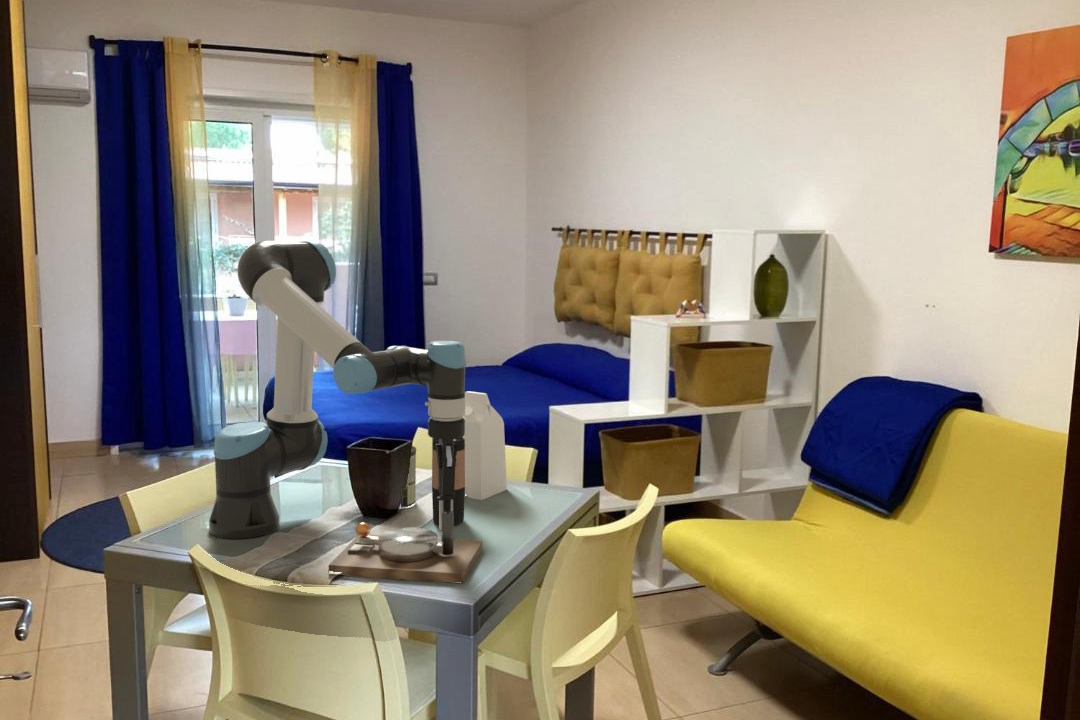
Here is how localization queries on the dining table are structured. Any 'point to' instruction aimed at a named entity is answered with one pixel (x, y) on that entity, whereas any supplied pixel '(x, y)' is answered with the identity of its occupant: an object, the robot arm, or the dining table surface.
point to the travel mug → (459, 482)
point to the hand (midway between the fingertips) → (446, 528)
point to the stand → (407, 563)
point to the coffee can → (410, 482)
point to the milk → (483, 448)
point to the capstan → (411, 541)
